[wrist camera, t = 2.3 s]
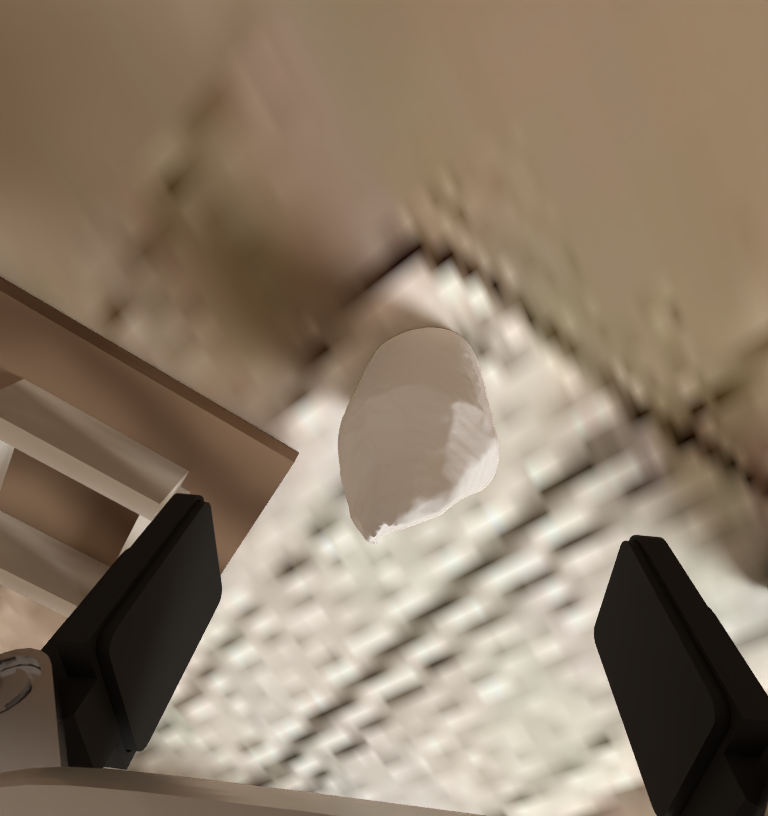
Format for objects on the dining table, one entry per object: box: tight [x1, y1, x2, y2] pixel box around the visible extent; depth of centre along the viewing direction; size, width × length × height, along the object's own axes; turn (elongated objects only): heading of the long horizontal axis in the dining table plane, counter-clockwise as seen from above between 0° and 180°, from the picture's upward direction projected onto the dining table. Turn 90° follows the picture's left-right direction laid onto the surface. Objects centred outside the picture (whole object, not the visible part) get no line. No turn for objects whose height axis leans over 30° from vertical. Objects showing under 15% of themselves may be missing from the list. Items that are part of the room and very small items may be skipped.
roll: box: [338, 327, 500, 544], centre depth 18 cm, size 6×12×6 cm
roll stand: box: [0, 277, 299, 617], centre depth 26 cm, size 18×18×4 cm
